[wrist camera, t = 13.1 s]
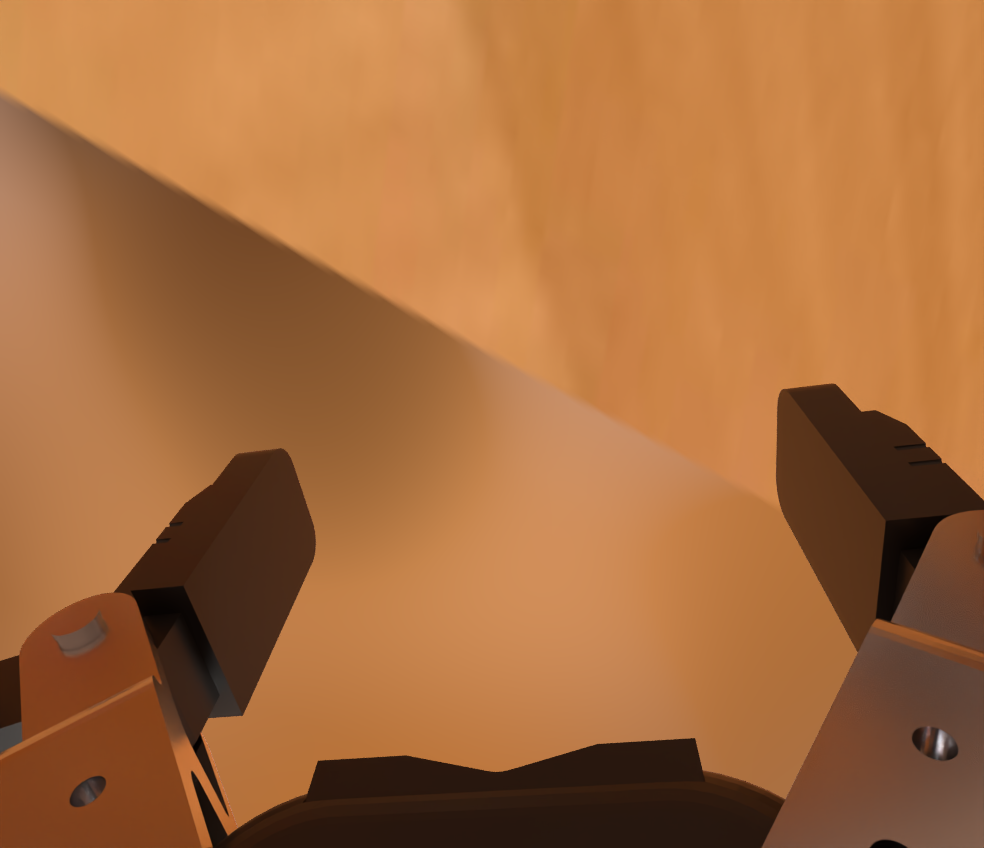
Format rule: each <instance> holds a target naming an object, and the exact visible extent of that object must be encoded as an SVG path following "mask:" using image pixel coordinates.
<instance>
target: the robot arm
mask: <svg viewBox="0 0 984 848" xmlns="http://www.w3.org/2000/svg"><path fill="white" fill-rule="evenodd" d="M776 484H777V492H778V498H779V502H780V506H781V509H782V512H783V515H784V517H785V519H786V520H787V522H788V524H789V526H790V528H791V530H792V532H793V533H794V535H795V537H796V539H797V541H798V543H799V545H800V546H801V548H802V550H803V552H804V554H805V556H806V558H807V559H808V561H809V563H810V565H811V567H812V569H813V570H814V572H815V574H816V576H817V578H818V580H819V582H820V583H821V585H822V587H823V589H824V591H825V593H826V594H827V596H828V598H829V600H830V602H831V604H832V606H833V607H834V609H835V611H836V613H837V615H838V617H839V619H840V620H841V622H842V624H843V626H844V628H845V630H846V632H847V633H848V635H849V637H850V639H851V641H852V643H853V644H854V646H855V648H856V650H857V652H858V654H857V656H856V658H855V660H854V662H853V664H852V666H851V668H850V670H849V672H848V674H847V676H846V678H845V680H844V682H843V684H842V686H841V688H840V690H839V692H838V694H837V696H836V698H835V700H834V702H833V704H832V706H831V708H830V710H829V712H828V714H827V716H826V718H825V720H824V722H823V724H822V726H821V729H820V730H819V733H818V735H817V737H816V739H815V741H814V743H813V745H812V747H811V749H810V751H809V753H808V755H807V757H806V759H805V761H804V763H803V765H802V767H801V769H800V771H799V773H798V775H797V777H796V779H795V781H794V783H793V785H792V787H791V789H790V791H789V793H788V795H787V797H786V799H783V798H781V797H779V796H778V795H776V794H774V793H772V792H770V791H768V790H765V789H763V788H760V787H758V786H756V785H753V784H751V783H748V782H746V781H742V780H739V779H736V778H732V777H729V776H725V775H722V774H718V773H713V772H708V771H703V770H702V766H701V762H700V758H699V753H698V749H697V745H696V740H695V738H691V739H674V740H657V741H641V742H624V743H610V744H609V743H607V744H596V745H593V746H589V747H586V748H583V749H579V750H576V751H572V752H569V753H566V754H563V755H559V756H555V757H552V758H549V759H545V760H542V761H539V762H535V763H532V764H528V765H525V766H522V767H519V768H515V769H511V770H508V771H503V772H490V771H484V770H479V769H473V768H468V767H463V766H458V765H453V764H447V763H442V762H437V761H431V760H426V759H421V758H416V757H411V756H390V757H374V758H357V759H341V760H324V761H318V763H317V765H316V769H315V772H314V775H313V778H312V781H311V785H310V788H309V791H308V794H306V795H303V796H299V797H296V798H294V799H292V800H289V801H287V802H284V803H282V804H280V805H277V806H275V807H273V808H271V809H269V810H268V811H266V812H264V813H262V814H260V815H258V816H256V817H255V818H253V819H251V820H250V821H248V822H247V823H245V824H244V825H242V826H241V827H239V828H238V827H237V824H236V821H235V819H234V816H233V813H232V811H231V807H230V805H229V802H228V799H227V796H226V793H225V791H224V788H223V785H222V782H221V780H220V777H219V774H218V771H217V769H216V766H215V763H214V760H213V757H212V754H211V752H210V749H209V746H208V744H207V742H206V740H205V738H204V736H203V734H202V732H201V731H202V729H203V727H204V725H205V723H206V721H207V720H208V718H216V717H230V716H243V714H244V712H245V710H246V707H247V705H248V703H249V701H250V699H251V696H252V694H253V692H254V690H255V688H256V685H257V683H258V681H259V679H260V676H261V674H262V672H263V670H264V668H265V665H266V663H267V661H268V659H269V657H270V655H271V652H272V650H273V648H274V646H275V643H276V641H277V638H278V637H279V634H280V632H281V630H282V628H283V626H284V624H285V621H286V619H287V617H288V615H289V613H290V610H291V608H292V606H293V604H294V601H295V599H296V597H297V595H298V593H299V591H300V588H301V586H302V584H303V582H304V579H305V577H306V575H307V573H308V571H309V568H310V566H311V564H312V562H313V559H314V555H315V545H316V539H315V530H314V526H313V522H312V519H311V516H310V513H309V510H308V508H307V504H306V501H305V498H304V495H303V492H302V489H301V486H300V483H299V480H298V478H297V474H296V471H295V468H294V465H293V463H292V460H291V458H290V456H289V455H288V453H287V452H286V451H285V450H284V449H281V448H280V449H272V450H263V451H255V452H247V453H239V454H237V455H236V456H234V458H233V459H232V460H231V461H230V463H229V464H228V465H227V467H226V468H225V469H224V471H223V472H222V473H221V475H220V476H219V477H218V478H217V480H216V481H215V482H214V483H213V485H210V486H209V487H207V488H206V489H204V490H203V491H202V492H200V493H199V494H198V495H196V496H195V497H193V498H192V499H191V500H189V501H188V502H186V503H185V504H184V506H183V507H182V508H181V509H180V511H179V512H178V513H177V514H176V516H175V517H174V518H173V519H172V521H171V522H170V523H169V524H170V527H166V528H165V529H164V530H163V532H162V533H161V534H160V536H159V537H158V538H157V539H156V541H157V542H156V544H152V546H151V547H150V548H149V549H148V550H147V552H146V553H145V554H144V555H143V557H142V558H141V559H140V561H139V562H138V563H137V564H136V565H135V567H134V568H133V569H132V570H131V572H130V573H129V574H128V575H127V577H126V578H125V579H124V580H123V581H122V583H121V584H120V585H119V587H118V588H117V589H116V590H115V591H114V593H105V594H100V595H95V596H92V597H89V598H86V599H83V600H81V601H78V602H76V603H73V604H71V605H69V606H67V607H65V608H64V609H62V610H60V611H58V612H57V613H55V614H54V615H52V616H51V617H49V618H48V619H47V620H45V621H44V622H43V623H42V624H40V625H39V626H38V627H37V628H36V629H35V630H34V631H33V632H32V633H31V634H30V635H29V637H28V638H27V639H26V641H25V642H24V644H23V645H22V648H21V650H20V654H19V655H18V656H15V657H12V658H8V659H5V660H2V661H0V848H984V500H983V499H982V498H981V497H980V496H979V495H978V494H977V493H976V492H975V491H974V490H973V489H972V488H971V487H970V486H968V485H967V484H966V483H965V482H964V481H963V480H962V479H961V478H960V477H959V476H958V475H957V474H956V473H955V472H954V471H953V470H952V469H951V468H950V467H949V466H948V465H947V464H946V463H942V460H941V458H940V457H939V456H938V455H937V454H936V453H935V452H934V451H933V450H932V449H931V448H930V447H926V443H925V442H924V441H923V440H922V439H921V438H920V437H919V436H918V435H917V434H916V433H915V432H914V431H913V430H912V429H911V428H910V427H909V426H908V425H906V424H904V423H902V422H900V421H898V420H896V419H893V418H891V417H889V416H887V415H885V414H883V413H880V412H878V411H876V410H873V411H865V412H861V411H860V410H859V409H858V408H857V407H856V405H855V404H854V403H853V402H852V401H851V400H850V399H849V398H848V397H847V396H846V395H845V394H844V392H843V391H842V390H841V389H840V388H839V387H838V386H837V385H836V384H824V385H815V386H807V387H799V388H790V389H783V390H781V392H780V394H779V398H778V407H777V458H776Z"/></svg>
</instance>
